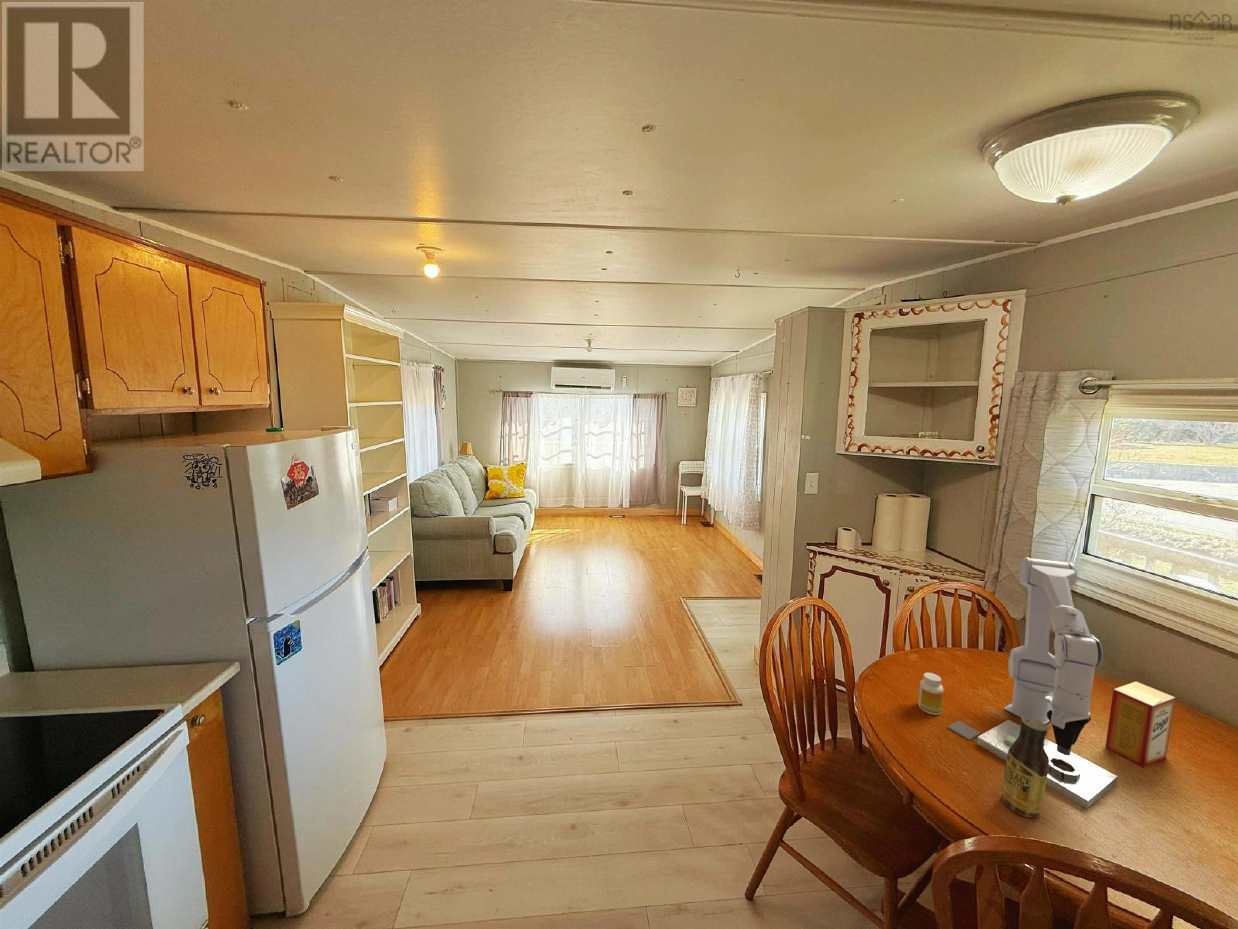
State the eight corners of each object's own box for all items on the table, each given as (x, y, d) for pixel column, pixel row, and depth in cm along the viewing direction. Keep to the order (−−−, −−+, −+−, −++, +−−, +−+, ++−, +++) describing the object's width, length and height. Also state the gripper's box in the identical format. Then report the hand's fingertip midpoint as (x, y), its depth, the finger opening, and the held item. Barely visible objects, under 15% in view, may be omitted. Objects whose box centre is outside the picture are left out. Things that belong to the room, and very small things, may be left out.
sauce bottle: (993, 795, 96) (1002, 711, 93) (1019, 793, 96) (1029, 709, 94) (1022, 823, 89) (1033, 734, 87) (1051, 821, 90) (1062, 731, 87)
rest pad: (958, 722, 118) (958, 720, 118) (980, 734, 114) (980, 733, 114) (947, 727, 116) (947, 726, 116) (969, 740, 112) (969, 739, 112)
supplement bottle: (945, 716, 120) (948, 683, 119) (923, 714, 121) (926, 681, 120) (935, 703, 126) (938, 672, 124) (914, 701, 127) (917, 670, 125)
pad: (1009, 741, 109) (1010, 735, 109) (1021, 748, 107) (1022, 741, 107) (1004, 745, 108) (1004, 738, 108) (1016, 751, 106) (1017, 745, 106)
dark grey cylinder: (1059, 747, 101) (1061, 714, 100) (1072, 753, 99) (1074, 720, 98) (1054, 750, 100) (1057, 717, 99) (1068, 757, 98) (1070, 723, 97)
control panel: (1007, 726, 116) (1008, 714, 116) (1116, 784, 98) (1118, 770, 98) (977, 744, 110) (978, 731, 110) (1087, 809, 92) (1089, 794, 92)
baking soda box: (1127, 738, 112) (1136, 679, 110) (1166, 757, 106) (1176, 695, 104) (1105, 748, 109) (1113, 687, 107) (1143, 768, 103) (1152, 704, 101)
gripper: (1060, 669, 104) (1053, 721, 106) (1035, 689, 97) (1028, 745, 99) (1103, 685, 98) (1095, 740, 100) (1080, 707, 91) (1072, 767, 93)
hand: (1065, 744), depth 99 cm, fingers closed on dark grey cylinder, 2 cm apart
